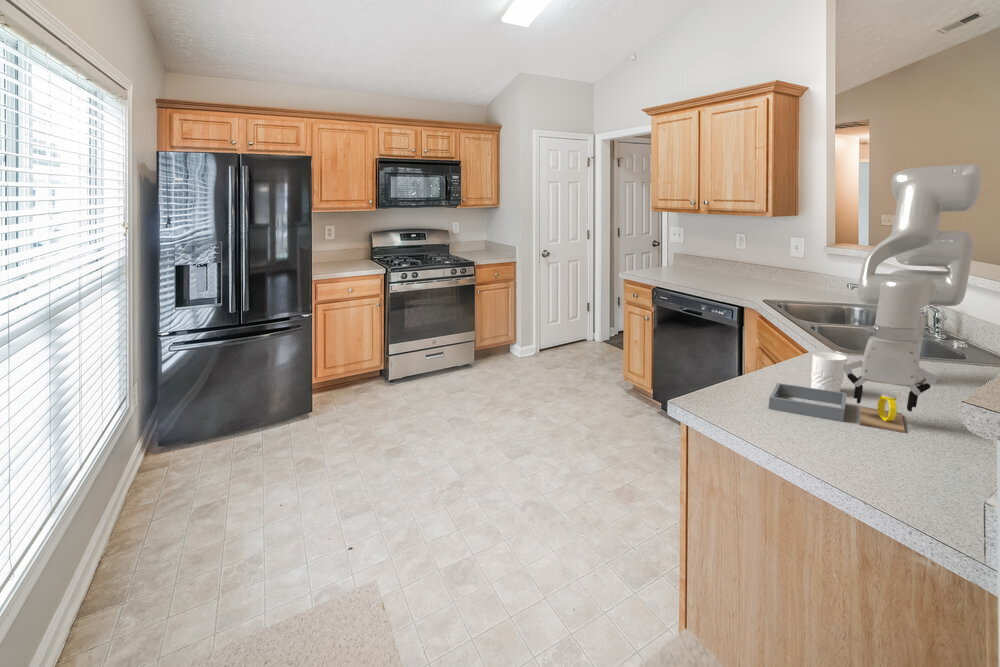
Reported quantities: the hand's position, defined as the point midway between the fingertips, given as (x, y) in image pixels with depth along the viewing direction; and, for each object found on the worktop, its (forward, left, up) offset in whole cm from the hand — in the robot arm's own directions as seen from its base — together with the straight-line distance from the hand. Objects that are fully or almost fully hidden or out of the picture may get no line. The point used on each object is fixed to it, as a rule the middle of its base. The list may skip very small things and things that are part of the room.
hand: (883, 405), depth 117 cm
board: (0, 0, -4) cm, 4 cm away
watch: (+1, +1, -3) cm, 3 cm away
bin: (-1, -15, -4) cm, 15 cm away
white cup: (-17, -12, -4) cm, 21 cm away
